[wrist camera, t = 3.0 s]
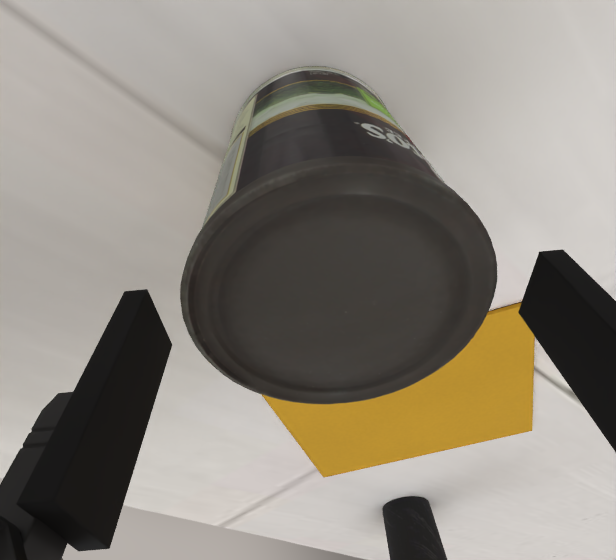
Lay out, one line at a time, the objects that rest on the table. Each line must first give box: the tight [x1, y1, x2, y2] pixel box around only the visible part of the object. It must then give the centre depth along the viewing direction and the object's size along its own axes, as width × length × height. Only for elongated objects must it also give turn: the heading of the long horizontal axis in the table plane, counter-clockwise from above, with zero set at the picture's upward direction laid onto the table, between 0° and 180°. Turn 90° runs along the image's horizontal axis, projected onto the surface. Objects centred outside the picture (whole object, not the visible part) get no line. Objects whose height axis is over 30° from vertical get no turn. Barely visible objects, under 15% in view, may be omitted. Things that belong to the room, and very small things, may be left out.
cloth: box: [262, 302, 535, 477], centre depth 41 cm, size 26×22×1 cm
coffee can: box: [180, 66, 497, 404], centre depth 18 cm, size 10×10×14 cm
